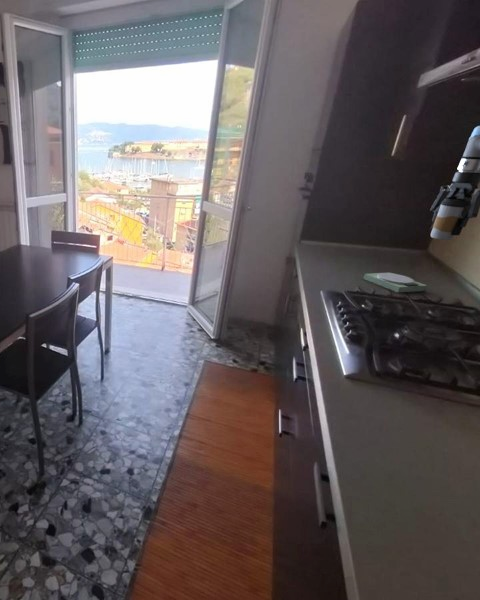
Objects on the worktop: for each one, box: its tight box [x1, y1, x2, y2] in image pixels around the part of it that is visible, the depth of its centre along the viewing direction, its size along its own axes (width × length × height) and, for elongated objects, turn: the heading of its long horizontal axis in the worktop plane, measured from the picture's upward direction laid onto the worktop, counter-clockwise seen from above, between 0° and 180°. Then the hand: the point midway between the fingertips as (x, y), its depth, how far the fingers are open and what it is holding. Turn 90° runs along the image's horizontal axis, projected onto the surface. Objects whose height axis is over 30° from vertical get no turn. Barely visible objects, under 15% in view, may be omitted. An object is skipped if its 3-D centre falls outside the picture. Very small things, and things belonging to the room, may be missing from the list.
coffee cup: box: [430, 197, 472, 241], centre depth 139 cm, size 8×8×15 cm
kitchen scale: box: [363, 271, 428, 294], centre depth 152 cm, size 16×13×3 cm
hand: (444, 232), depth 141 cm, fingers closed on coffee cup, 7 cm apart
